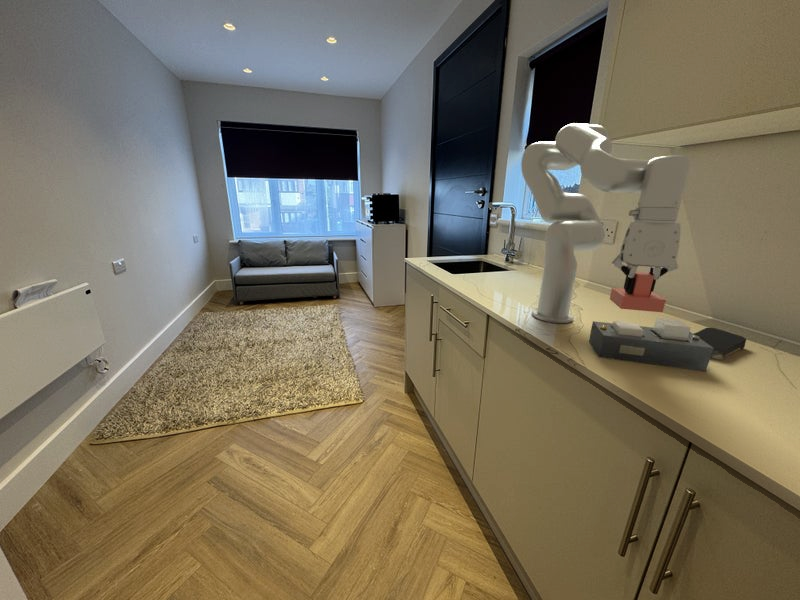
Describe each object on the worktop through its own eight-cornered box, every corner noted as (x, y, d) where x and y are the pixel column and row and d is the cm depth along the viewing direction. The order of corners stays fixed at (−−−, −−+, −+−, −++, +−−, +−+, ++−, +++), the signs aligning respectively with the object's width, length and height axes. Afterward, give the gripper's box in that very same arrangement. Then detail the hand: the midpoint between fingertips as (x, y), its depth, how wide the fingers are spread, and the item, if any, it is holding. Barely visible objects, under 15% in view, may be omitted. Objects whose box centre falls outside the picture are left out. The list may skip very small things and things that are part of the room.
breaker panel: (588, 341, 89) (595, 309, 86) (682, 352, 83) (693, 318, 80) (599, 357, 79) (607, 322, 76) (706, 371, 73) (719, 334, 70)
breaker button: (610, 335, 84) (613, 321, 83) (632, 337, 83) (635, 323, 82) (616, 342, 80) (620, 328, 78) (639, 345, 78) (643, 330, 77)
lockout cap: (609, 298, 83) (616, 268, 81) (647, 302, 81) (654, 271, 78) (620, 308, 75) (628, 275, 73) (662, 312, 73) (671, 278, 71)
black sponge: (705, 337, 93) (709, 326, 92) (745, 349, 86) (750, 337, 84) (678, 349, 85) (682, 336, 84) (719, 363, 78) (724, 349, 77)
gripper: (620, 215, 71) (603, 294, 76) (710, 217, 66) (685, 301, 72) (609, 214, 77) (595, 287, 83) (690, 215, 73) (669, 292, 78)
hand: (637, 292), depth 77 cm, fingers closed on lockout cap, 3 cm apart
